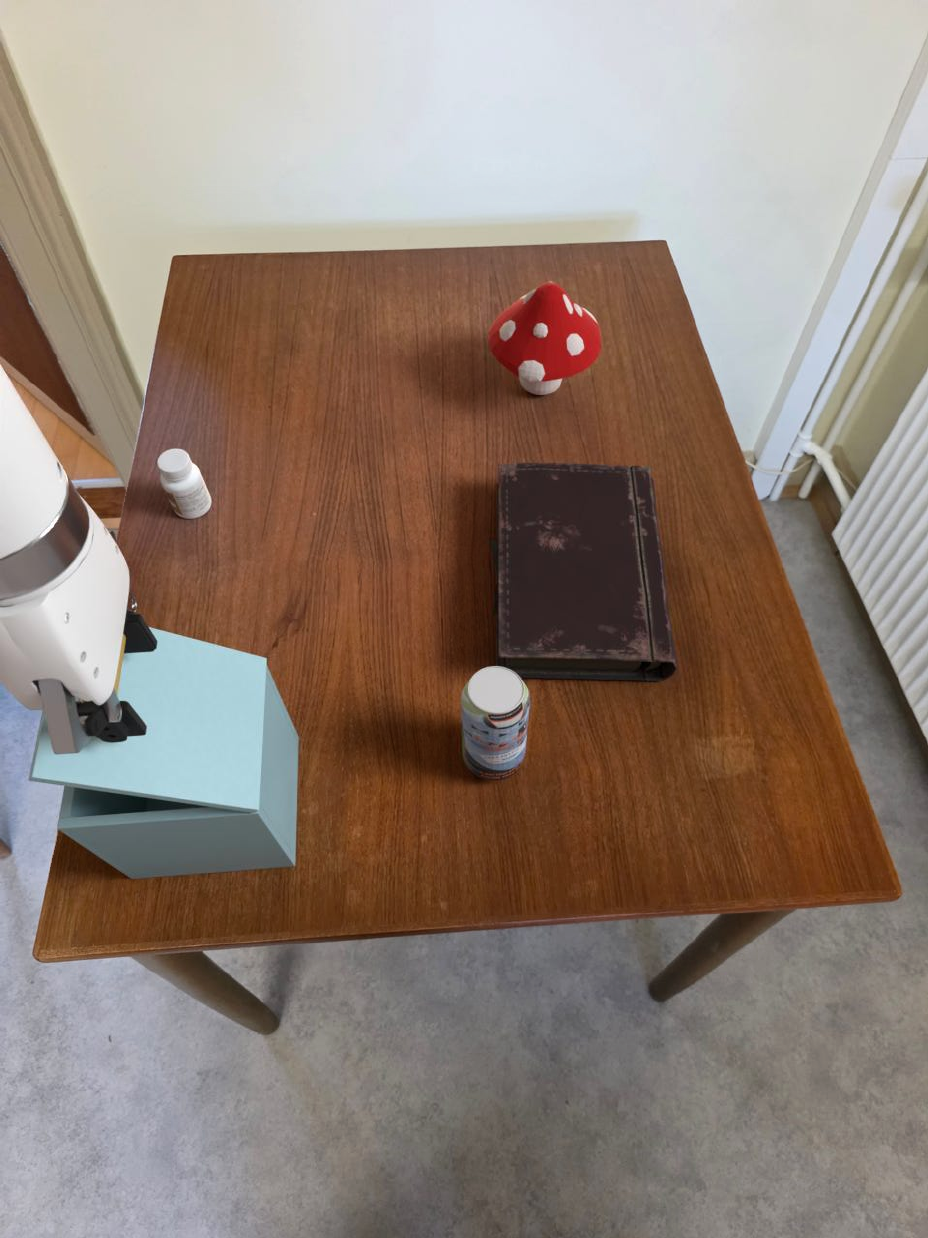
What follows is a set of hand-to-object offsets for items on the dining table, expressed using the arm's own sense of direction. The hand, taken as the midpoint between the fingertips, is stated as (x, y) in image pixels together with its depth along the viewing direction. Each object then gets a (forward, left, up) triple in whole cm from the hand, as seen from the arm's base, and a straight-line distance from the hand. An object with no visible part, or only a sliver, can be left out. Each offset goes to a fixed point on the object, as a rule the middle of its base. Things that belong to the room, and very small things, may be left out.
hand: (128, 688), depth 55 cm
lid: (+1, 0, -4) cm, 4 cm away
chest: (0, 0, -25) cm, 25 cm away
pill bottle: (+7, +36, -25) cm, 45 cm away
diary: (+42, +8, -25) cm, 50 cm away
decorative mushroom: (+53, +36, -25) cm, 69 cm away
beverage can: (+25, -6, -25) cm, 36 cm away
